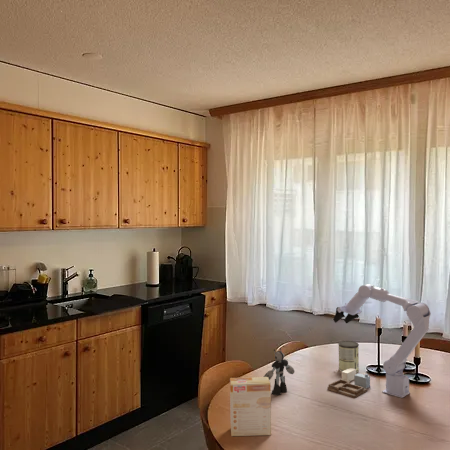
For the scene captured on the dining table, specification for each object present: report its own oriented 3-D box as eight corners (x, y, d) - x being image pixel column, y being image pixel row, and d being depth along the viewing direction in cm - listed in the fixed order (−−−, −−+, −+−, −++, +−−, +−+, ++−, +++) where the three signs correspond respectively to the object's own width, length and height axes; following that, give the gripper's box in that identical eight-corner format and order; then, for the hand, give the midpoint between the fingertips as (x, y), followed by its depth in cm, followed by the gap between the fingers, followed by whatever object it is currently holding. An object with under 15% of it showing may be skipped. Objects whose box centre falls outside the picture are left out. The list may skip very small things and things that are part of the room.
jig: (367, 391, 206) (367, 386, 206) (354, 398, 198) (354, 393, 198) (340, 383, 216) (340, 378, 216) (327, 389, 209) (327, 384, 209)
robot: (267, 399, 198) (267, 354, 198) (260, 396, 202) (259, 352, 201) (298, 388, 210) (297, 346, 210) (290, 385, 214) (290, 344, 214)
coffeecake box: (269, 426, 172) (268, 376, 172) (271, 435, 165) (271, 383, 165) (230, 427, 172) (229, 377, 171) (231, 436, 164) (230, 384, 164)
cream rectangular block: (356, 378, 223) (356, 369, 223) (347, 382, 217) (347, 373, 217) (350, 376, 225) (350, 367, 225) (341, 381, 220) (341, 371, 220)
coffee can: (337, 366, 241) (336, 340, 240) (356, 367, 240) (356, 340, 239) (340, 373, 230) (340, 346, 230) (360, 373, 229) (360, 346, 229)
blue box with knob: (370, 386, 212) (370, 373, 212) (365, 388, 209) (365, 375, 209) (358, 383, 216) (358, 370, 216) (354, 385, 214) (354, 372, 213)
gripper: (361, 298, 224) (346, 315, 231) (341, 296, 217) (325, 314, 223) (369, 309, 219) (353, 326, 226) (348, 307, 212) (332, 325, 219)
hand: (340, 321), depth 224 cm, fingers open, 7 cm apart
